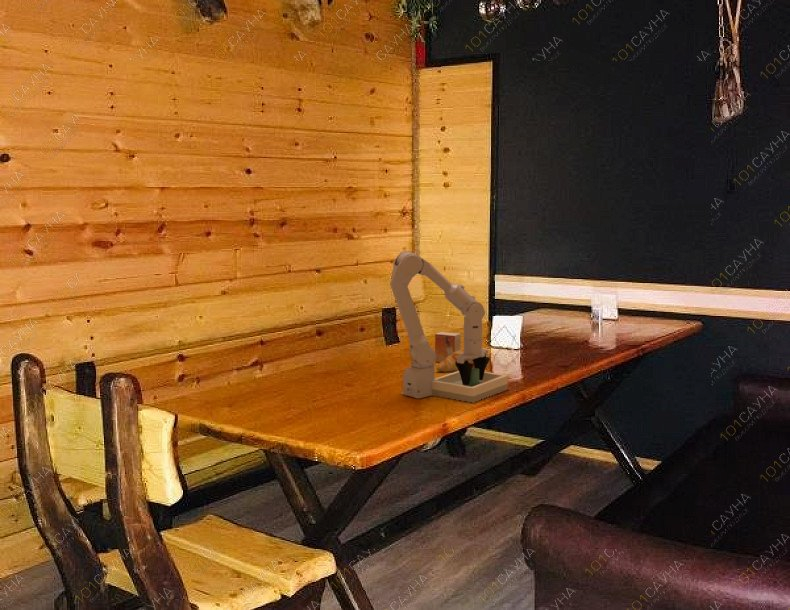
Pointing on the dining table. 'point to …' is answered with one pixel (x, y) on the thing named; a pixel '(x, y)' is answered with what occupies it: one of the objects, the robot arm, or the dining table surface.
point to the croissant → (451, 363)
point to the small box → (446, 344)
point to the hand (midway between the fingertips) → (472, 382)
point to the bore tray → (456, 390)
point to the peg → (474, 377)
